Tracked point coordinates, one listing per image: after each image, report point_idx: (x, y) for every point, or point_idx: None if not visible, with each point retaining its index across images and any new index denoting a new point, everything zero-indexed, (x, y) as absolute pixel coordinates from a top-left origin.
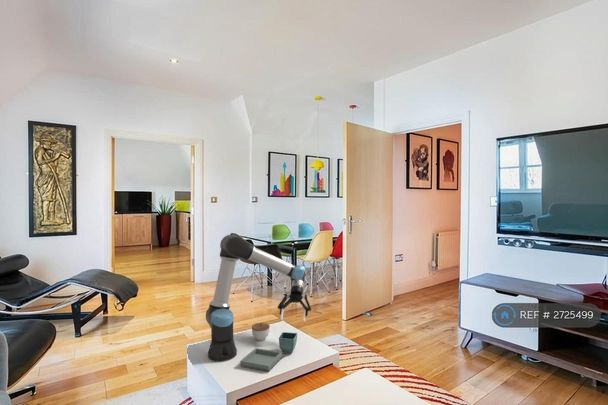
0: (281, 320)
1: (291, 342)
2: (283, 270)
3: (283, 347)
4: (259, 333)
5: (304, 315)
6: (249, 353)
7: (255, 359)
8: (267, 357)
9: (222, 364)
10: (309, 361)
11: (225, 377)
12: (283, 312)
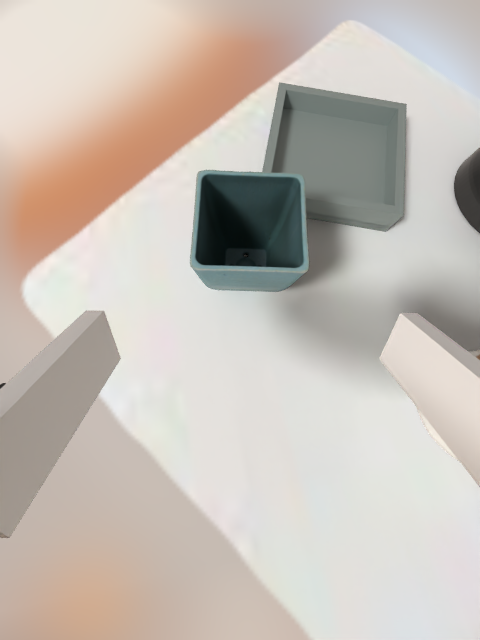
0: (390, 347)
1: (216, 188)
2: None
3: (263, 218)
4: (477, 350)
5: (42, 355)
6: (402, 161)
7: (358, 162)
8: (316, 182)
9: (461, 136)
10: (134, 195)
11: (400, 71)
12: (476, 462)
